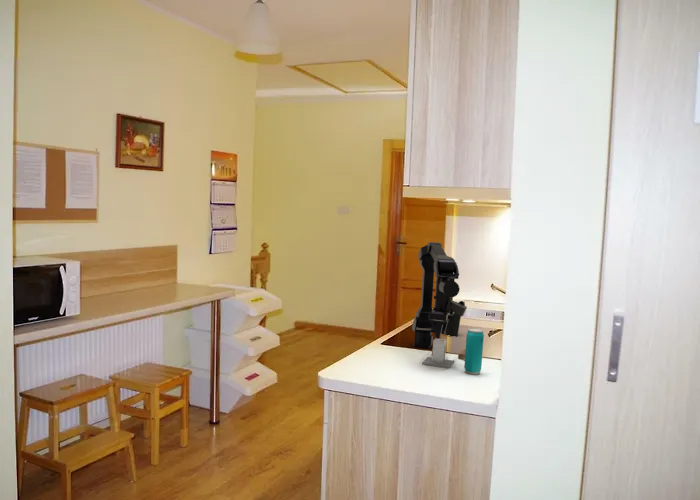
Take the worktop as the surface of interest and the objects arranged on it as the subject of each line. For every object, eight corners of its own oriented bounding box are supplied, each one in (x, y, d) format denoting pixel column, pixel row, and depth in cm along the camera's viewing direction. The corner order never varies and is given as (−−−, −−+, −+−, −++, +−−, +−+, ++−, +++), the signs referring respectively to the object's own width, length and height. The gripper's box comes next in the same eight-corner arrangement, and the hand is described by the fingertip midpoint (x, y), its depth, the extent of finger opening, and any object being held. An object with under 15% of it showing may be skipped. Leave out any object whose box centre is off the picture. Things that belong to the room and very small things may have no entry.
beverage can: (481, 371, 202) (485, 329, 201) (479, 376, 196) (483, 332, 195) (465, 369, 203) (468, 327, 202) (462, 373, 198) (465, 330, 197)
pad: (421, 364, 207) (421, 362, 207) (427, 358, 216) (427, 356, 216) (449, 368, 203) (449, 366, 203) (454, 362, 213) (454, 360, 213)
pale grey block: (431, 362, 209) (433, 340, 208) (434, 359, 212) (435, 338, 212) (442, 363, 207) (444, 341, 207) (445, 361, 211) (446, 339, 210)
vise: (431, 355, 221) (432, 350, 221) (436, 350, 230) (436, 345, 229) (478, 361, 215) (478, 356, 215) (481, 356, 224) (481, 351, 224)
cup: (462, 335, 262) (464, 309, 261) (456, 337, 256) (458, 311, 255) (446, 332, 266) (448, 306, 265) (440, 335, 260) (441, 308, 259)
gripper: (462, 298, 196) (458, 344, 197) (469, 292, 214) (466, 334, 215) (429, 295, 200) (426, 339, 201) (439, 289, 218) (436, 330, 219)
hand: (440, 336), depth 209 cm, fingers open, 9 cm apart
